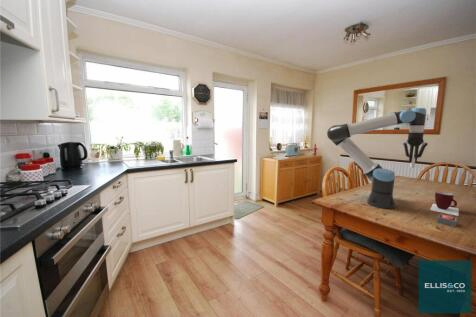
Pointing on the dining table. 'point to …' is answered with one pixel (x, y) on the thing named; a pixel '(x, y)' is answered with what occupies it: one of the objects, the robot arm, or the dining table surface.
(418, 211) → the dining table surface
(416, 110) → the robot arm
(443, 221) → the button housing
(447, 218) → the button
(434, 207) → the paper
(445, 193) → the mug
